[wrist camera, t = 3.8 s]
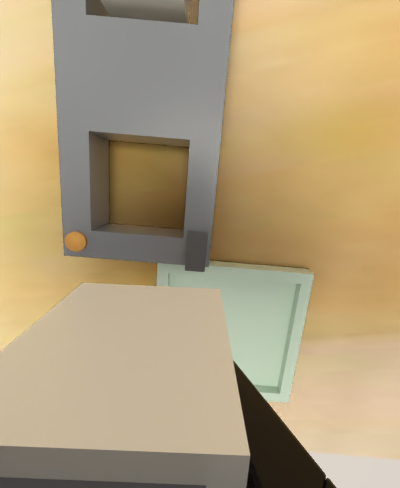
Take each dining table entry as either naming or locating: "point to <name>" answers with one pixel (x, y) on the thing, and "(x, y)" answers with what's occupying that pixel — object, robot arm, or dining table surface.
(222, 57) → the grey socket board
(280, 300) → the parts tray
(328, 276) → the dining table surface
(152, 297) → the plug
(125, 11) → the twin plug
